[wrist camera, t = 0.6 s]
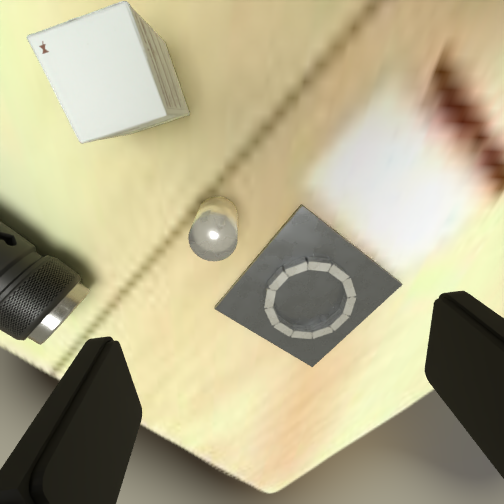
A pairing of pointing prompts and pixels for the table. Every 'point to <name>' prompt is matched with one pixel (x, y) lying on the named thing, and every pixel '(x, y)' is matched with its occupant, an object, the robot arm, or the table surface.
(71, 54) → the supplement box
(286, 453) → the table surface
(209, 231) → the piston
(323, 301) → the ring mat
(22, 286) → the muzzle brake
